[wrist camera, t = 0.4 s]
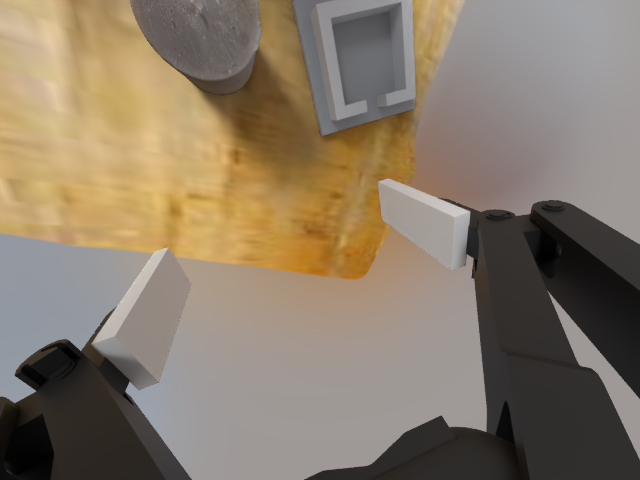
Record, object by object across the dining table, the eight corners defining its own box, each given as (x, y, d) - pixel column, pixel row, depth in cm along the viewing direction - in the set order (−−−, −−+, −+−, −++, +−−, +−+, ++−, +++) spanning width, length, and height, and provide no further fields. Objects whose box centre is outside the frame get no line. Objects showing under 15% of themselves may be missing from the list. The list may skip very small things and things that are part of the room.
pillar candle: (173, 85, 31) (126, 62, 19) (169, -14, 28) (105, -131, 15) (252, 102, 35) (257, 93, 22) (257, 16, 31) (268, -59, 18)
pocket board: (291, 2, 31) (297, -13, 27) (404, -22, 33) (423, -40, 29) (320, 135, 39) (328, 136, 35) (410, 109, 41) (426, 107, 37)
